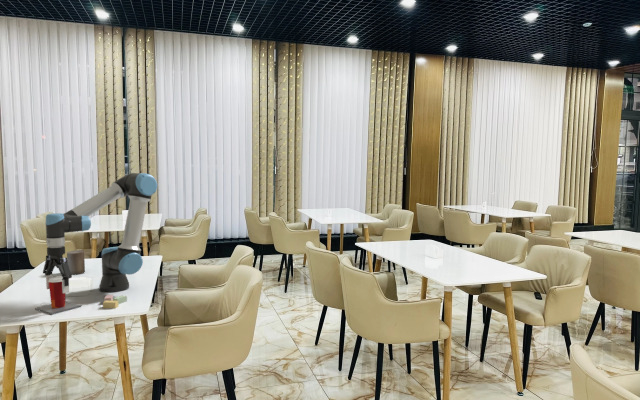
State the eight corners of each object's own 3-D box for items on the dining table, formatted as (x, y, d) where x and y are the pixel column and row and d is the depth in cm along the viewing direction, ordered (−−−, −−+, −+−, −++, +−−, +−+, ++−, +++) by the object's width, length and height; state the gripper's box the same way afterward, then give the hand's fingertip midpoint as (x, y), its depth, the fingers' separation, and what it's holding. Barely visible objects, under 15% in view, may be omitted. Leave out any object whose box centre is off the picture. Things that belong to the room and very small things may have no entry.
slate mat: (64, 302, 234) (64, 300, 233) (81, 306, 226) (81, 305, 226) (35, 309, 222) (35, 308, 222) (51, 314, 214) (51, 313, 214)
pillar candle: (88, 271, 300) (87, 248, 299) (79, 275, 290) (77, 251, 289) (74, 271, 301) (72, 248, 300) (64, 274, 291) (63, 250, 290)
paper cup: (70, 304, 228) (69, 275, 227) (62, 308, 220) (61, 279, 219) (54, 304, 228) (52, 275, 227) (45, 309, 220) (44, 279, 219)
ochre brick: (103, 308, 225) (102, 302, 224) (106, 306, 228) (106, 300, 227) (115, 308, 224) (115, 302, 224) (118, 306, 227) (118, 300, 227)
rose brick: (106, 301, 237) (106, 295, 237) (113, 300, 238) (112, 294, 237) (104, 304, 231) (104, 298, 231) (111, 303, 232) (110, 298, 232)
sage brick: (122, 301, 237) (122, 295, 236) (126, 301, 236) (126, 295, 235) (112, 304, 231) (112, 298, 231) (117, 305, 230) (117, 299, 230)
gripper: (33, 245, 225) (35, 288, 227) (62, 250, 212) (64, 296, 214) (49, 242, 231) (51, 285, 233) (78, 247, 218) (80, 292, 220)
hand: (57, 290), depth 223 cm, fingers open, 13 cm apart
